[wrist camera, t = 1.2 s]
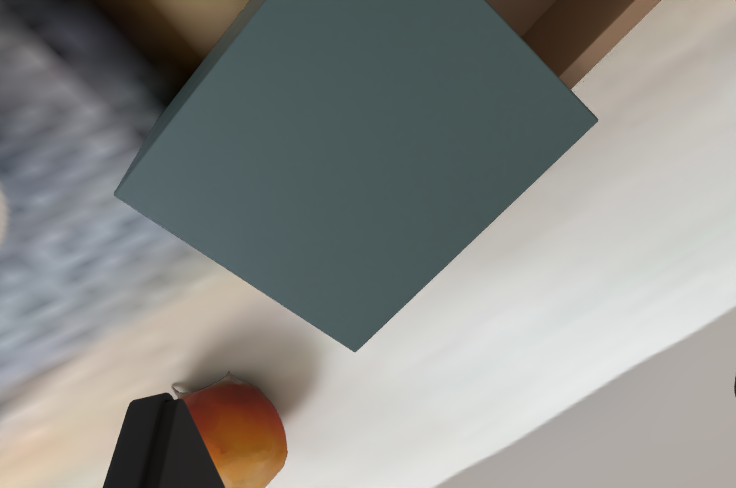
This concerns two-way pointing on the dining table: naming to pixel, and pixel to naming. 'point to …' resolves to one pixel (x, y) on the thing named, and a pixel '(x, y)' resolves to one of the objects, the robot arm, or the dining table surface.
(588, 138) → the dining table surface
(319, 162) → the cabinet
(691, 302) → the dining table surface
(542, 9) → the drawer
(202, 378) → the dining table surface
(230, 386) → the fruit
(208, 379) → the dining table surface
